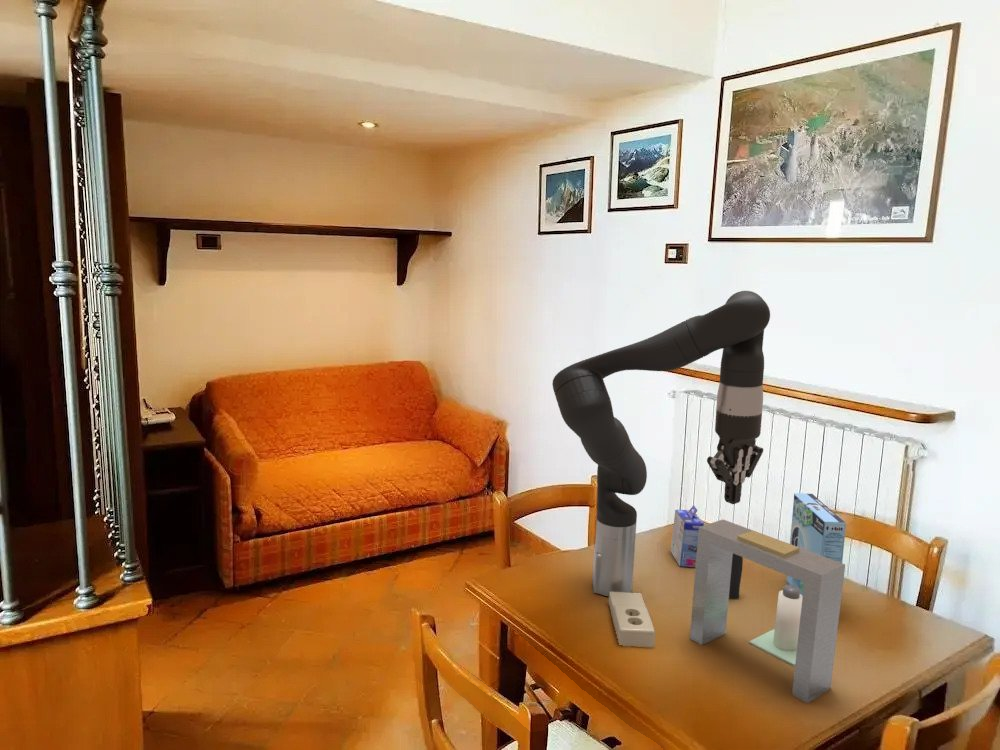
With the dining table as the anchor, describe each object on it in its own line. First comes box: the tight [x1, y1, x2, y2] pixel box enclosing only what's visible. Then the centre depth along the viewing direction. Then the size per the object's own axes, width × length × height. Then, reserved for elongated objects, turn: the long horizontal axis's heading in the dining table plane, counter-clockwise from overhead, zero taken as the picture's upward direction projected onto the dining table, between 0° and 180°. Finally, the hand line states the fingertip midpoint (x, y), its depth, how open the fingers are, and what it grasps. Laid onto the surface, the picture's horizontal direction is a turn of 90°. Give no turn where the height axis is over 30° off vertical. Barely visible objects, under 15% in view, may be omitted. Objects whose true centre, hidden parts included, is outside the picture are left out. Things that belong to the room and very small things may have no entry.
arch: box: [689, 519, 846, 705], centre depth 136 cm, size 8×26×25 cm, turn 37°
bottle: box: [773, 584, 803, 651], centre depth 143 cm, size 5×5×12 cm
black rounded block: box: [729, 553, 744, 599], centre depth 165 cm, size 7×4×11 cm, turn 87°
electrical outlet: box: [608, 592, 656, 648], centre depth 151 cm, size 7×4×18 cm
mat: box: [748, 628, 797, 667], centre depth 144 cm, size 10×10×1 cm
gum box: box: [786, 492, 847, 596], centre depth 163 cm, size 20×5×23 cm, turn 176°
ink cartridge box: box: [670, 505, 705, 569], centre depth 184 cm, size 10×6×14 cm, turn 0°
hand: (732, 501), depth 125 cm, fingers closed
